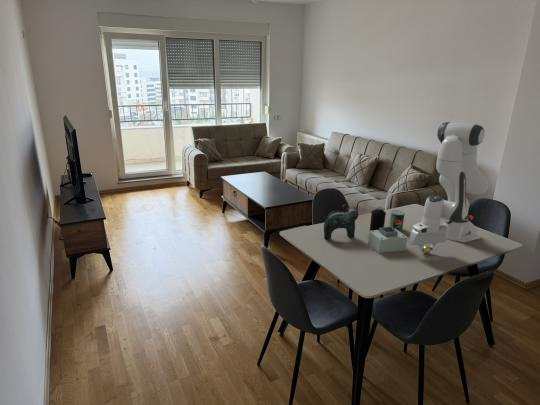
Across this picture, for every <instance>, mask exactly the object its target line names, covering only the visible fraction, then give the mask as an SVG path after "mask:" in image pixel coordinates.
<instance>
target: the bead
mask: <svg viewBox="0 0 540 405" xmlns="http://www.w3.org/2000/svg"><path fill="white" fill-rule="evenodd" d="M422 247H423V248H424V251H422V253H423V254H425V255H428V254H430V252H431V251H430V248H429V246H427V245H425V246H422Z"/></svg>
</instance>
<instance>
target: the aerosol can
mask: <svg viewBox="0 0 540 405" xmlns="http://www.w3.org/2000/svg"><path fill="white" fill-rule="evenodd" d="M370 213H371V215H370V216H371V217H370V224H369V231H372V230H379V228H382V227H385V224H386V221H385V220H386V215H387V212H385V210H383V209H382V205H379V204H378V205H377V208H375V209H373V210H371V211H370ZM367 238H369V235H368V237H367Z"/></svg>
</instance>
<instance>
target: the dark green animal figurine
mask: <svg viewBox="0 0 540 405" xmlns="http://www.w3.org/2000/svg"><path fill="white" fill-rule="evenodd" d="M344 207H346V208H345V209H346V211H340V210H334V211H331V212H330V213H329V214H328V215H327V217H326V220H325V221H324V223H323V236H324V237H323V238H324V239H325V240H326V241H327V240H331V239H332V235H333V233H334V232H335V230H338V229H345V230H346V236H347V237H348V238H350V239H351V238H355V233H356V232H355V230H356V220H358V218H359V212H358V210H357V208H356V206H353V208H349V205H348V204H343V205H342V208H344Z"/></svg>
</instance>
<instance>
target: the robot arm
mask: <svg viewBox="0 0 540 405" xmlns="http://www.w3.org/2000/svg"><path fill="white" fill-rule="evenodd" d="M485 133H486V132H485V128H484V126H482V125H480V124H478V123H477V124H473V123H468V122H451V121H446V122H442V123H441V124H440V125H439V127H438V129H437V133H436V134H437V136H436V137H437V138H438V141H439V142H440V146H439V149H438V153H437V158H436V162H435V163H436V165H435V168H436V171H437V173H438V174H439V178H438V180H439V181H438V182H439V184H440V186H442V187H443V189H444V191H445V193H446V196H447V200H445V199H444V198H443V197H442V196H440V195H437V194H436V195H435V194H433V195H429V196H427V198H426V200H425V204H424V207H423V217H422V219H421V221H420V222H417V223H415V224H413V225H412V227H411V228H412V230H411V231H410V234H409V238H408V239H409V240H408V242H409V243H410V244H411V245H412V246H419V251H420V252H423V251H424V248H423V247H424V245H429V244H430V246H428V247H429V248H430V252H431V251H434V248H435V247H436V245H437V244H439V243H445V242H446V241H447V240H450V241H455V242H459V243H467V242H471V241H476V240H480V239H481V235H480V234H478V233H477V227H476V225H475V224H473V223H472V222H471V221H470V220H473V219H474V216H473V215H469V209H470V202H469V201H470V200H469V199H468V198H467V194H471V195H473V194H474V195H483V194H484V193H485V192H486V191H487V190H488V188H489V180H488V178H487V177H486V176H485V175H484V174H483V173H482V172H481V170H480V169H479V167H478V163H477V159H478V146H479V145H480V144H482V142H483V141H484V138H485ZM441 219H444V220H443V224H442V225H441Z"/></svg>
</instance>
